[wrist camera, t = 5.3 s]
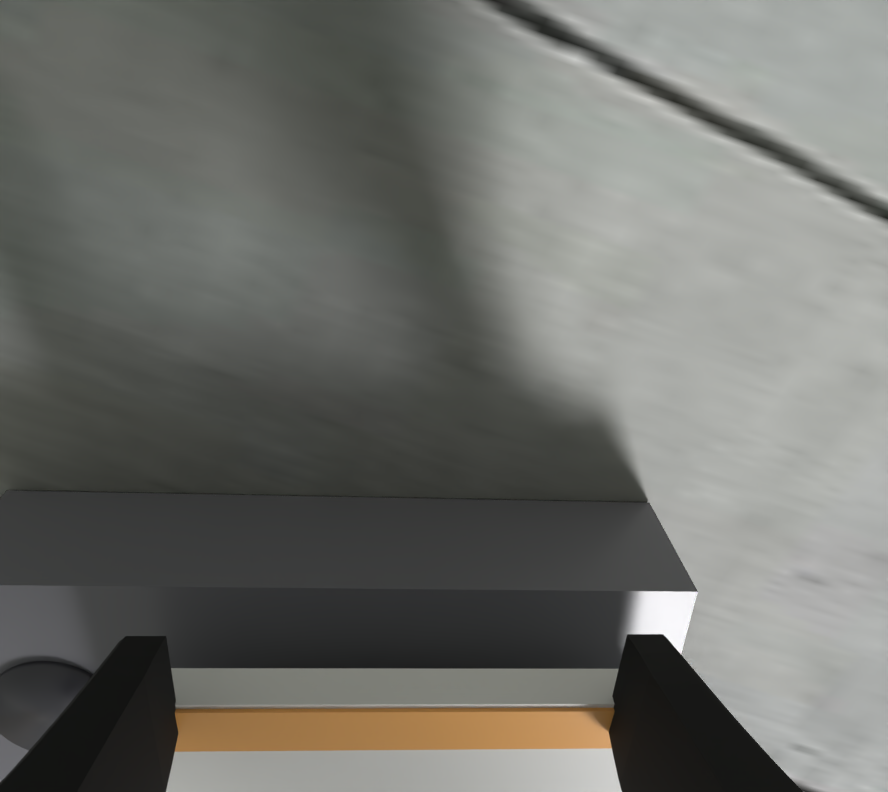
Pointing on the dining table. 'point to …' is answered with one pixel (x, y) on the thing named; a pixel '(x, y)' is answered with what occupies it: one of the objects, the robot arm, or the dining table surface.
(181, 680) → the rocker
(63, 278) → the dining table surface
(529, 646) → the rocker switch panel
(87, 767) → the robot arm
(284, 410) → the dining table surface
